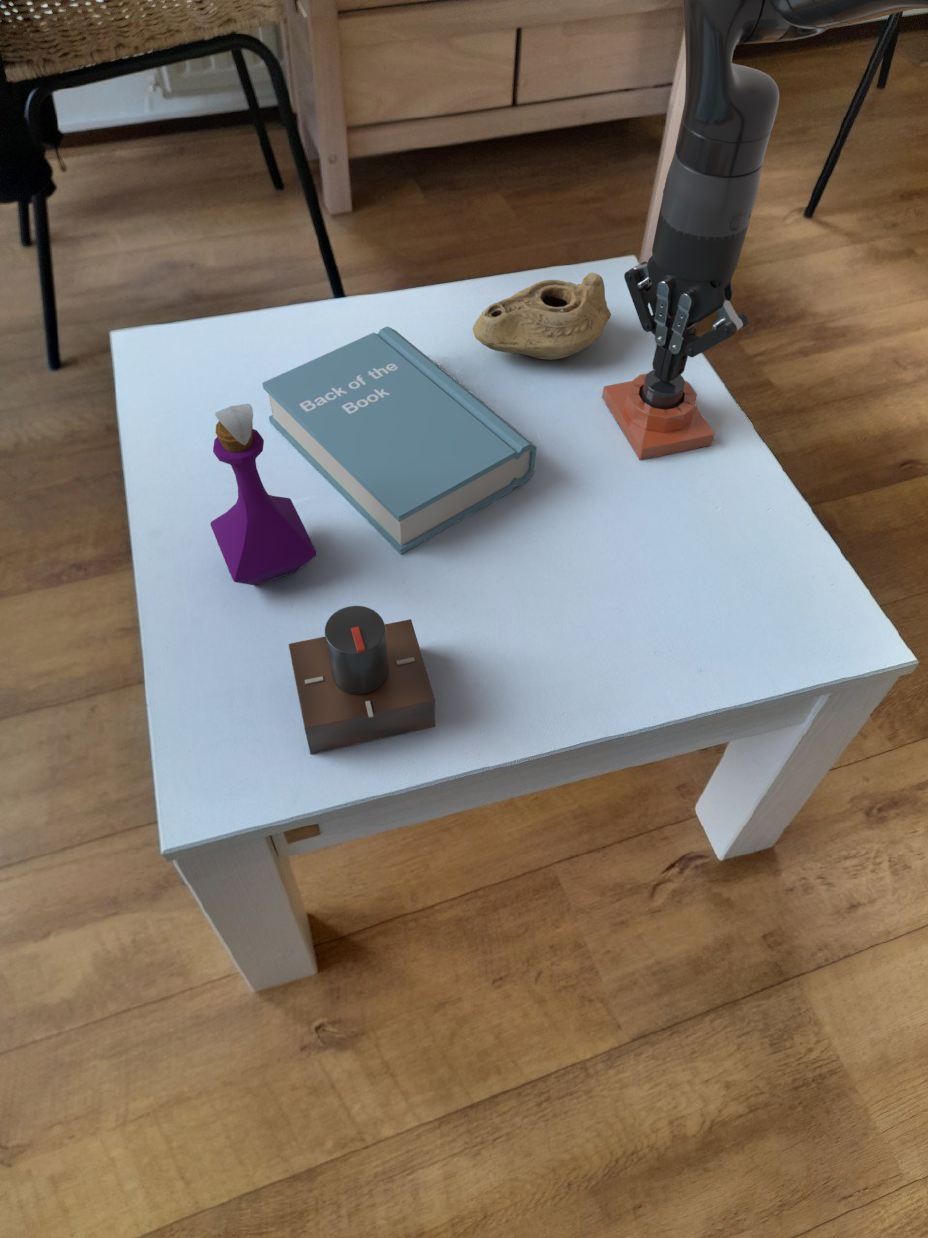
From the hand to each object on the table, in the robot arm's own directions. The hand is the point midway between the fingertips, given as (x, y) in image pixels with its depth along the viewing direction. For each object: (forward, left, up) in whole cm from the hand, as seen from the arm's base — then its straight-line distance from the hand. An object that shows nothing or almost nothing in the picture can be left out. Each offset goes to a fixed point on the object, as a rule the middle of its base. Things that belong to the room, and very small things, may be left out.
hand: (665, 375), depth 92 cm
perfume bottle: (+28, +32, -6) cm, 43 cm away
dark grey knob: (0, 0, -3) cm, 3 cm away
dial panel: (+14, +42, -6) cm, 45 cm away
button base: (0, 0, -6) cm, 6 cm away
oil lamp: (+15, -7, -6) cm, 18 cm away
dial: (+14, +42, -2) cm, 44 cm away
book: (+23, +14, -6) cm, 28 cm away
